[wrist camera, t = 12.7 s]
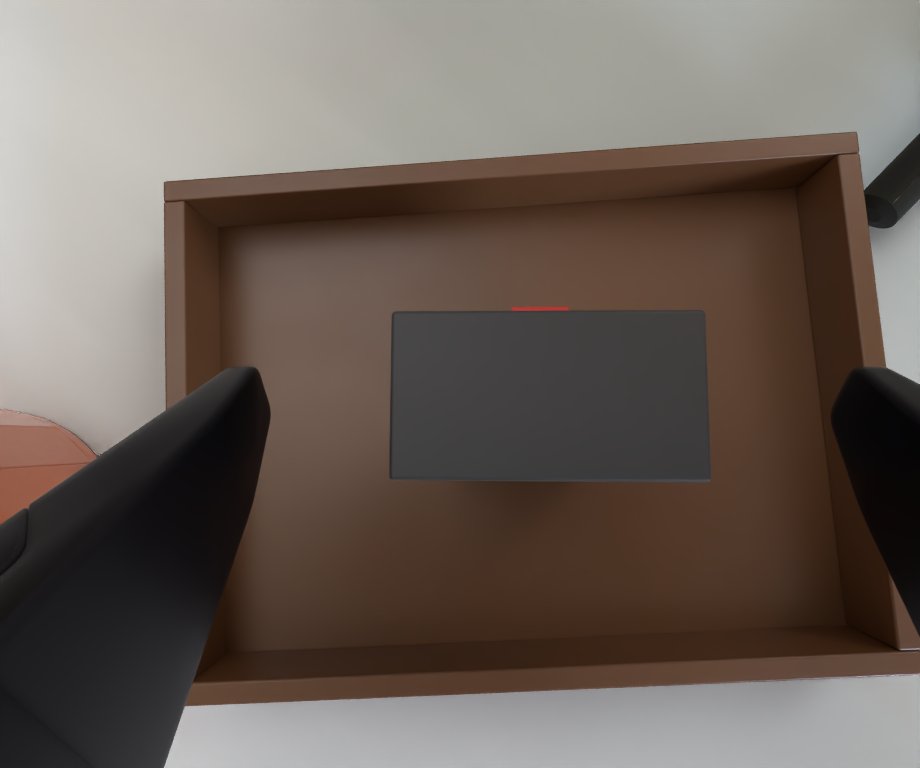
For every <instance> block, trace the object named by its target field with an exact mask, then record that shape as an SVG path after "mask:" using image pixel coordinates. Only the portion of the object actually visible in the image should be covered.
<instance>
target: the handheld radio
mask: <svg viewBox="0 0 920 768" xmlns="http://www.w3.org/2000/svg"><path fill="white" fill-rule="evenodd" d="M864 196H865V204H866V212H867V220H868V225H870V226H872V227H876V228H889V227H892V226H893V225H895V224H896V223H897V222H898V221H899V220H900V218H901V217H902V216H903V215H904V214H905V213H906V212H907V211H908V210H909V209H910V208H911V207H912V206H913V205H914V204H915V203H916V202H917V201H918V200H919V199H920V134H919V135H918V136H917V137H916V138H915V139H914V140H913V141H912V142H911V143H910V144H909V145H908V146H907V147H906V148H905V149H904V150H903V151H902V152H901V153H900V154H899V155H898V156H897V157H896V158H895V159H894V160H893V161H892V162H891V163H890V164H889V165H888V166H887V167H886V168H885V169H884V170H883V171H882V173H881V174H880V175H879V176H878V177H877V178H876V179H875V180H874V181H873V182H872V183H871V184H870V185H869V186H868V187H867V188H866V189H865V190H864Z"/></svg>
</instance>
